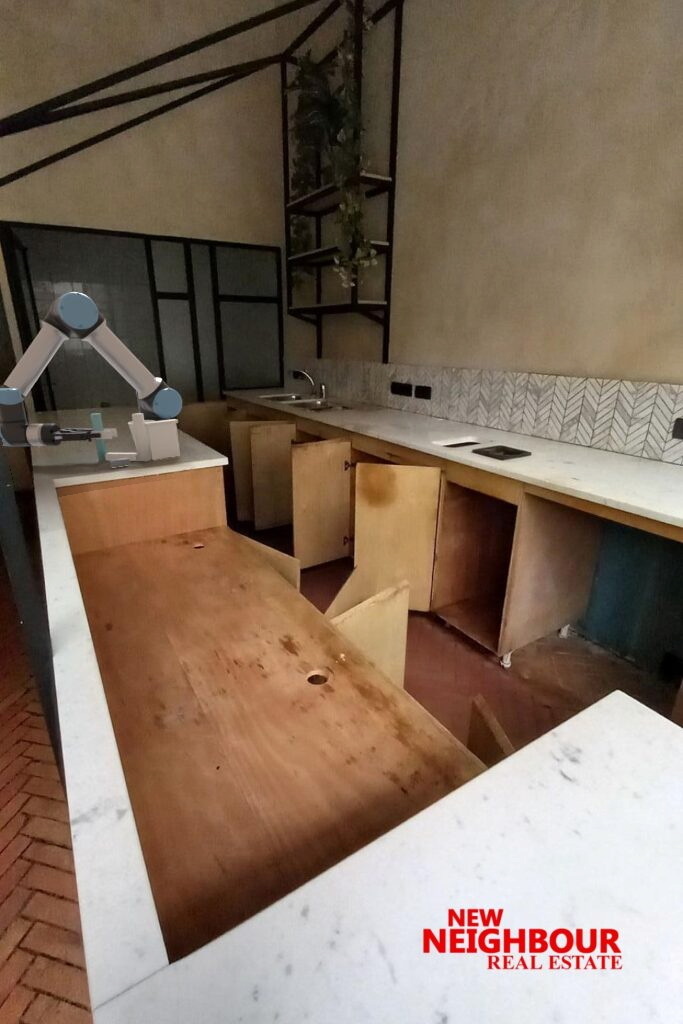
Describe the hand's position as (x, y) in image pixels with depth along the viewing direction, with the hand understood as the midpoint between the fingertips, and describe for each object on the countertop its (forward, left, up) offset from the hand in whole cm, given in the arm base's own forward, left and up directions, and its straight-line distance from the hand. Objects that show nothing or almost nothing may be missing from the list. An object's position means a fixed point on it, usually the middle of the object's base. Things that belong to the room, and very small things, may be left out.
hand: (113, 433), depth 171 cm
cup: (-14, -11, -10) cm, 20 cm away
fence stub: (-14, +7, -9) cm, 18 cm away
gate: (-1, +2, -9) cm, 10 cm away
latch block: (+2, +10, -9) cm, 14 cm away
